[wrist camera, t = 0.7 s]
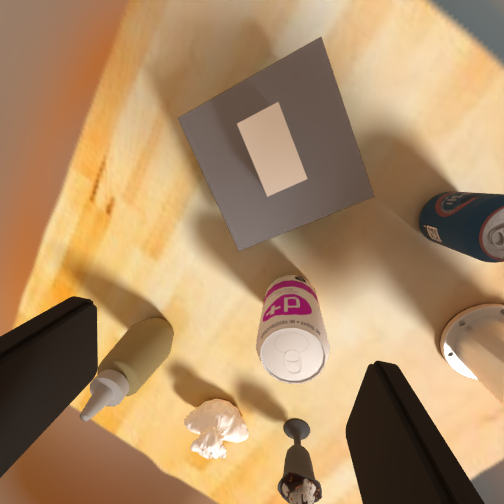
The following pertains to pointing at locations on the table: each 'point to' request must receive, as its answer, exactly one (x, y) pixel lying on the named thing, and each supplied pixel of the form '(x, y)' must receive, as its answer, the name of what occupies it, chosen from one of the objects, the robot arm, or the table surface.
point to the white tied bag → (215, 427)
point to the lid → (279, 148)
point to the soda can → (466, 223)
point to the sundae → (298, 468)
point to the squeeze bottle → (129, 364)
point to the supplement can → (292, 331)
